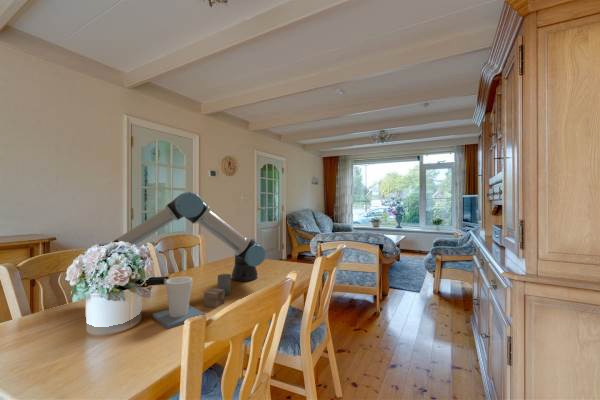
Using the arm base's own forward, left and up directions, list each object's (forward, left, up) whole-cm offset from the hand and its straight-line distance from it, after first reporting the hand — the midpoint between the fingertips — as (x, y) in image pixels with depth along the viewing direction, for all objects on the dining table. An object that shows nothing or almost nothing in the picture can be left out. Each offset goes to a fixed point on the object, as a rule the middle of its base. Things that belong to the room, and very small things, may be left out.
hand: (164, 288), depth 107 cm
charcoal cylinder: (-29, -4, -10) cm, 31 cm away
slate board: (-3, +7, -10) cm, 12 cm away
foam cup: (-3, +6, -9) cm, 12 cm away
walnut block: (-19, +5, -10) cm, 22 cm away
